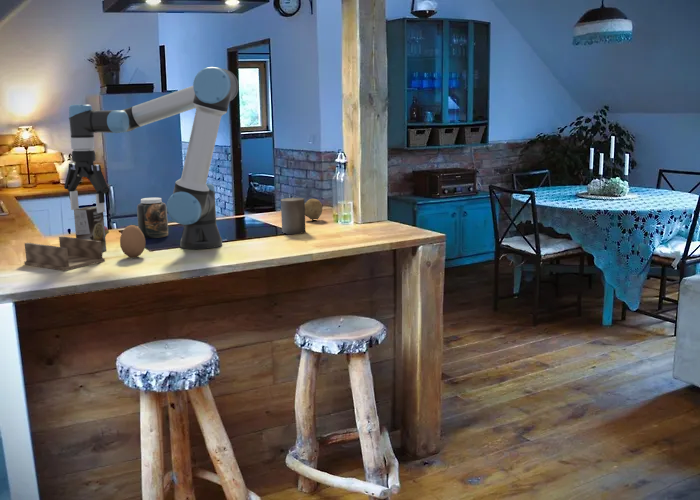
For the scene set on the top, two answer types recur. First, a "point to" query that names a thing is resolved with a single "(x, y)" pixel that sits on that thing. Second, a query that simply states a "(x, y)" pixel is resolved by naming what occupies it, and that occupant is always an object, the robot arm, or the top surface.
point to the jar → (152, 218)
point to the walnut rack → (64, 254)
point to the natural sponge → (313, 208)
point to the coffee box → (90, 225)
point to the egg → (132, 241)
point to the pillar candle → (293, 215)
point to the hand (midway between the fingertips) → (87, 210)
